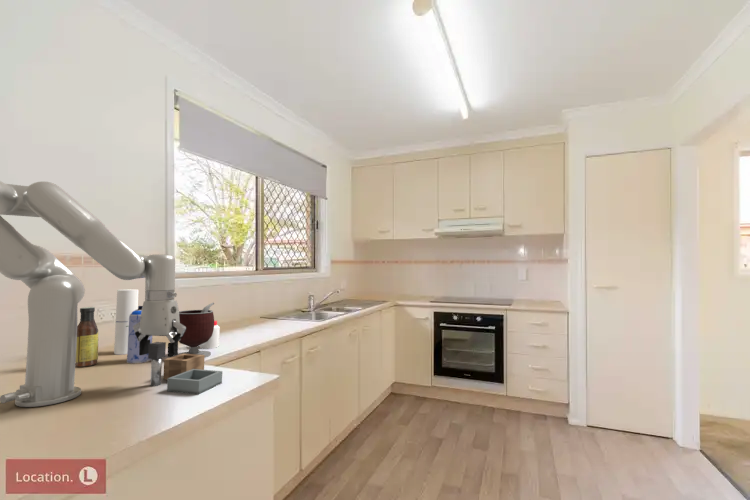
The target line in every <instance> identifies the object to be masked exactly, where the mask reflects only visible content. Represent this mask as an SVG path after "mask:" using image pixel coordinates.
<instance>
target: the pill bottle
mask: <svg viewBox="0 0 750 500" xmlns="http://www.w3.org/2000/svg"><path fill="white" fill-rule="evenodd" d="M220 332H221V327H220V326H219V325H218V320H214V330H213V334H212V336H211V338H210V339H209V340H208V341H207V342H205V343H203V344H201V345H199V349H202V348H203V349H202V350H204V349H205V350H208V348H211V349H217V348H219V347H220V338H221V337H220V335H221V333H220ZM218 346H219V347H218ZM216 347H217V348H216Z"/></svg>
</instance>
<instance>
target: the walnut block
mask: <svg viewBox="0 0 750 500" xmlns="http://www.w3.org/2000/svg"><path fill="white" fill-rule="evenodd" d="M205 359H206V357H205V355H197V354H180V355H177V356H176V355H175V356H172V357H167V358H164V360H163V373H162V374H163V375H162V376H163V377H162V379H163V380H167V379H168V378H170V377H173V376H175V375H178V374H181V373H183V372H186V371H189V370H191V369H201V370H205Z"/></svg>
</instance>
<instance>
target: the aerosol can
mask: <svg viewBox="0 0 750 500" xmlns="http://www.w3.org/2000/svg"><path fill="white" fill-rule="evenodd" d="M142 307H143V305H138V309H137V310H135V311H133V312H132V314H130V316H129V331H128V351H127V354H126V355H127V356H126V357H127V358H126V363H128V364H140V363H141V364H142V363H147V362H150V361H151V360H152V359H148V354H145V355H139V343H140V341H138V340H137V339H138V338H137V337H136V335H135V331H134V329H133V326H134V325H135V324H137V323H139V322H140V320H141V312H142ZM148 340H150V343H153V336H150V337H149V338H148Z"/></svg>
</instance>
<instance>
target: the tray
mask: <svg viewBox="0 0 750 500" xmlns="http://www.w3.org/2000/svg"><path fill="white" fill-rule="evenodd" d="M166 383H167V385H166V392H170V393H181V394H189V395H200V394H202V393H205V392H207V391H208V390H211V389H212V388H215V387H217V386H219V385H221V384H223V371H222V370H210V369H204V370H201V369H191V370H189V371H186V372H183V373H181V374H178V375H175V376H173V377H170V378H168V379H167V382H166ZM220 383H221V384H220ZM218 384H219V385H218ZM216 385H217V386H216ZM214 386H215V387H214Z"/></svg>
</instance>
